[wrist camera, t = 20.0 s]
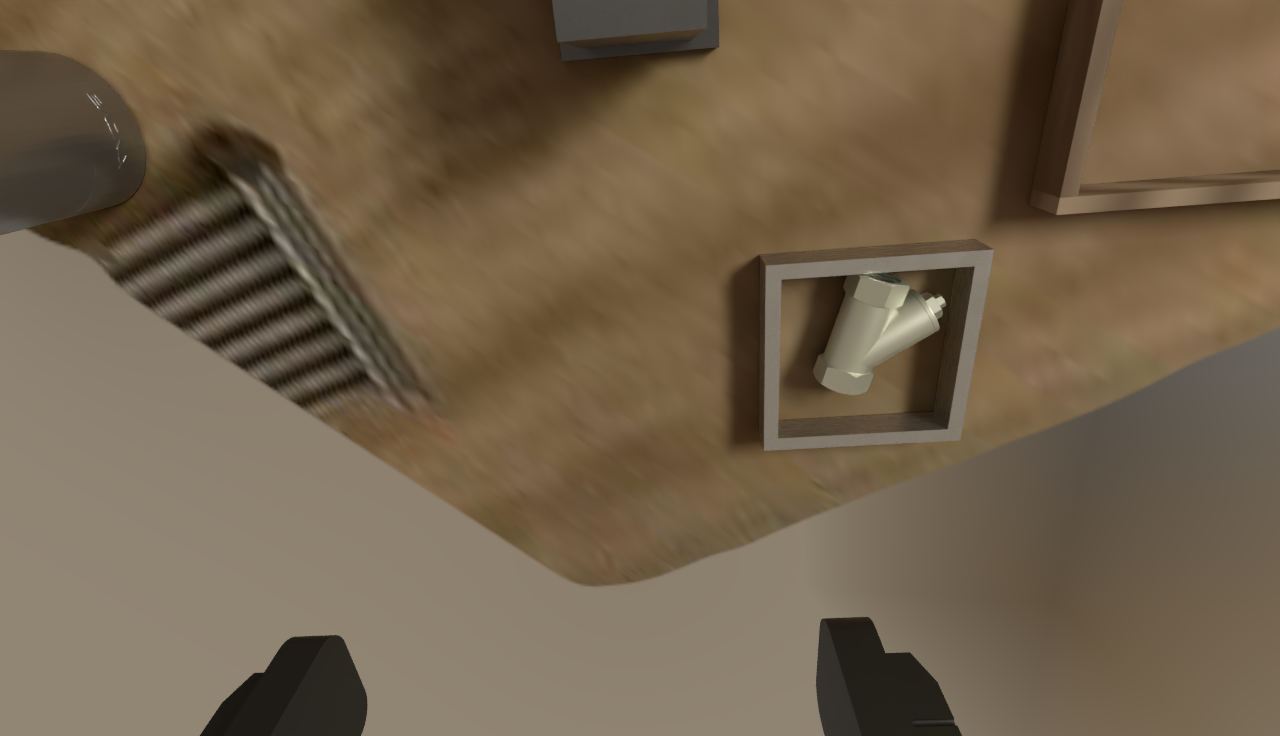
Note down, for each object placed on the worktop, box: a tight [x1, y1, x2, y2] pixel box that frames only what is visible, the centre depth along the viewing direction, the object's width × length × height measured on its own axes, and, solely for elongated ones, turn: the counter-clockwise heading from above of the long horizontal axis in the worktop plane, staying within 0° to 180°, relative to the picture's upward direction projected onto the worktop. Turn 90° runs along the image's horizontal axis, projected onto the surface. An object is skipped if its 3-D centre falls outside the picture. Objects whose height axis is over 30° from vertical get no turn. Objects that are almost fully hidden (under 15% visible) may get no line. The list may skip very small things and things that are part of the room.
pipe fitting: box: [813, 272, 946, 395], centre depth 41 cm, size 8×4×7 cm
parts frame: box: [759, 239, 994, 451], centre depth 42 cm, size 14×14×2 cm
